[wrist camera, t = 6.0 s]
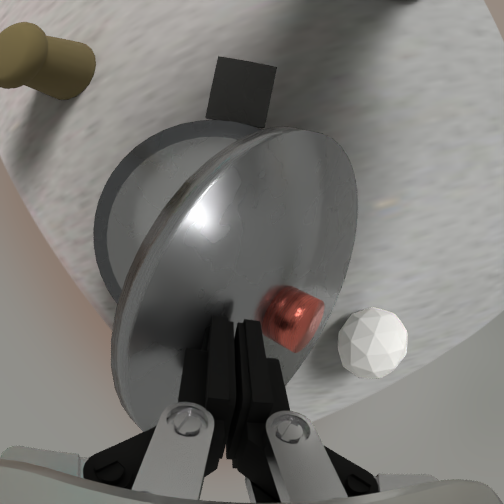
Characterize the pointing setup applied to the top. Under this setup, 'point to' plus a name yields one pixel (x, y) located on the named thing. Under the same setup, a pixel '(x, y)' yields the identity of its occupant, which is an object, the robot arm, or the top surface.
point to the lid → (237, 262)
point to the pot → (174, 164)
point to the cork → (44, 62)
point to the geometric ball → (372, 343)
